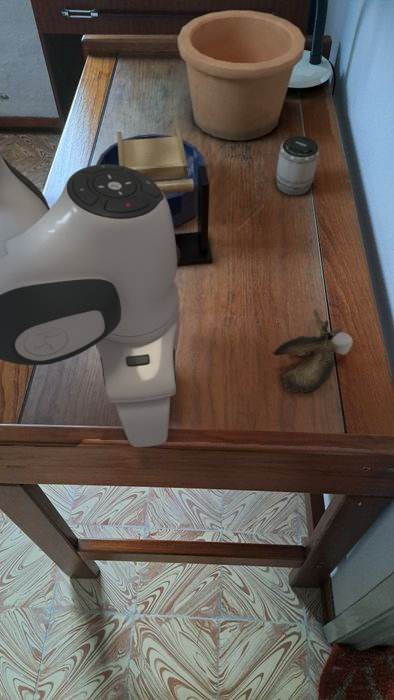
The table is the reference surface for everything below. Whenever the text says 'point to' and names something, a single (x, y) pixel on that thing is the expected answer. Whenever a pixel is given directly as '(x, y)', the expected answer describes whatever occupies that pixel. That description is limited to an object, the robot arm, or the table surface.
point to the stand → (197, 243)
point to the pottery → (239, 70)
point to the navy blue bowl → (179, 203)
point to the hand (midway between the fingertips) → (145, 389)
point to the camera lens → (297, 165)
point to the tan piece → (158, 162)
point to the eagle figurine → (313, 356)
